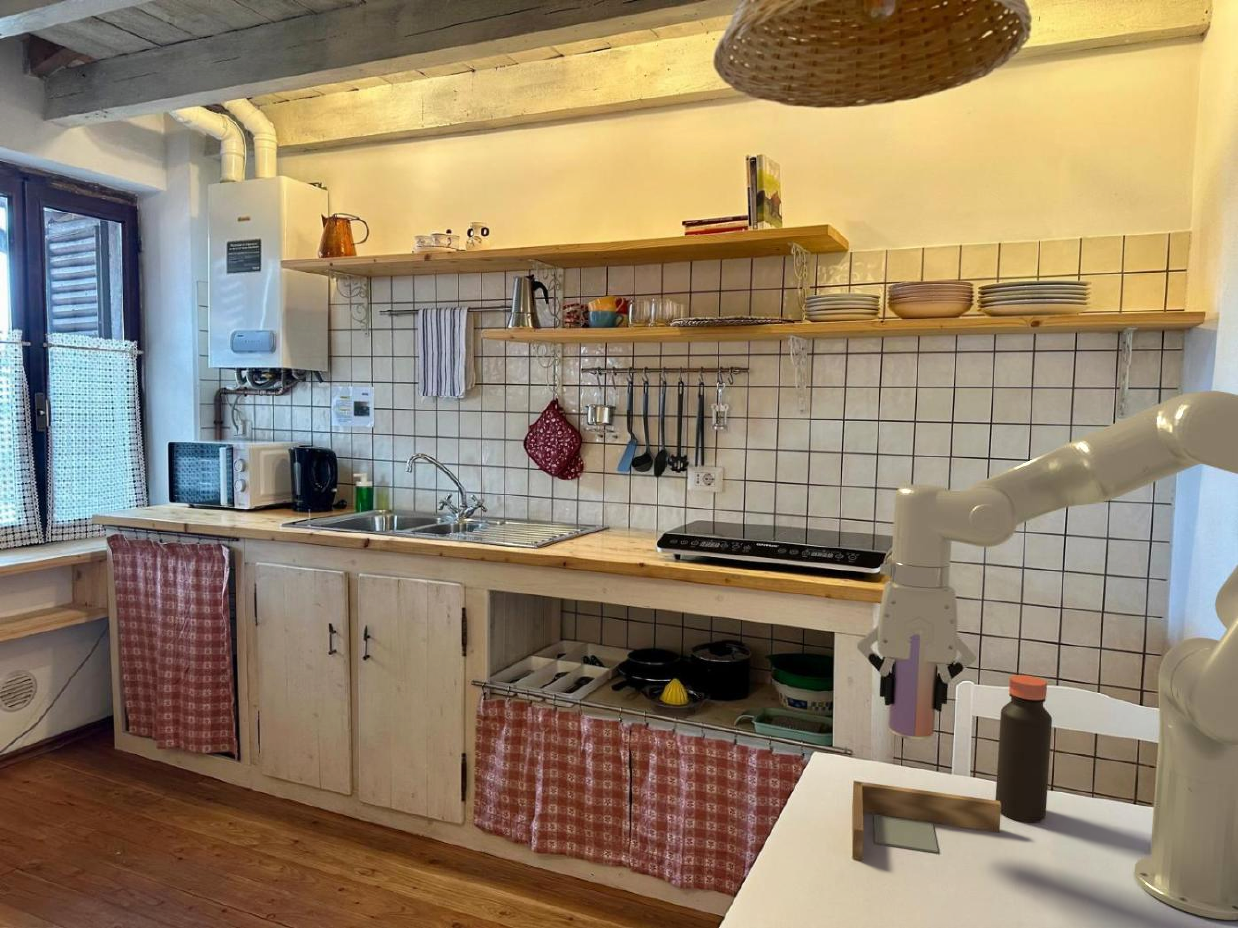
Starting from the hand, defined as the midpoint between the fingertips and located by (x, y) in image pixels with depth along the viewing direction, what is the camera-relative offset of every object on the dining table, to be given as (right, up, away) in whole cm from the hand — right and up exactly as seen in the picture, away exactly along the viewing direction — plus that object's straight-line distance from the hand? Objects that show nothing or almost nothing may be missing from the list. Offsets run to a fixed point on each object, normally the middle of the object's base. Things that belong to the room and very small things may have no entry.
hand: (912, 703), depth 116 cm
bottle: (+19, -19, +9) cm, 28 cm away
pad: (-1, -18, +1) cm, 19 cm away
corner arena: (+2, -19, -1) cm, 19 cm away
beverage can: (0, -4, 0) cm, 4 cm away
